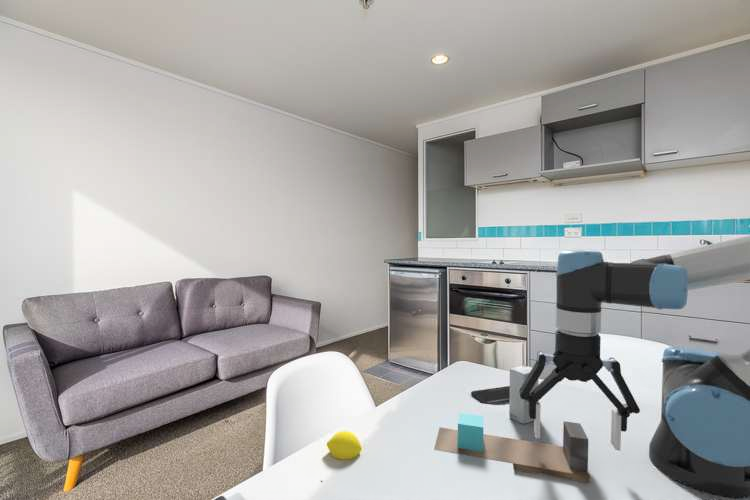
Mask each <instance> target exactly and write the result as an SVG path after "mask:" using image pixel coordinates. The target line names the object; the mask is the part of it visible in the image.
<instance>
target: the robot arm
mask: <svg viewBox="0 0 750 500" xmlns="http://www.w3.org/2000/svg"><path fill="white" fill-rule="evenodd" d="M604 260H605V259H604V256H603V254H602V252H601V251H595V250H563V251H561V252H560V253H559V254H558V258H557V271H556V273H555V276H556V309H555V310H556V313H555V327H556V328H557V330H556V331H555V340H554V341H555V344H554V345H555V351H554V353H553V354H549V353H544V351H541V350H539V351H538V352H537V354H536V361H535V363H534V365H533V366H532V370H531V371H530V373H529V375H528V377H527V378H526V380H525V382H524V383H523V385H522V387H521V388H520V390H519V393H520V397H521V399H525V400H527V401H528V402H529V416H530V419H534V420H533V432H534V436H535V438H536V439H541V408H542V406H541V403H540V400H541V399H542V398H544V396H545V395H546V394H547V393H549V392H550V391H551V390H552V389H553V388H554V387H555V386H556V385H557V384H558V383H560V382H562V381H563V380H564V379H567V380H568V381H579V382H583V383H588V382H589V381H593V382H594V383H595V385H596V386H597V387H598V388H599V390H600V391H601V392H602V393H603V394H604V396H605V397H606V398H607V399H608V400H609V401H610V403H612V404H613V406H614V407H615V408H611V421H610V423H611V424H610V425H611V426H610V443H611V444H612V446H613V448H614V450H615V451H620V452H621V446H622V445H621V444H622V443H621V442H622V441H621V439H622V438H621V437H622V436H621V435H622V432H627V430H628V418H629V417H630V416H631V414H640V412H641V409H640V407H639V406H638V403H637V401H636V399H635V397H634V396H633V394H632V392H631V390H630V388H629V386H628V384H627V383H626V381H625V378H624V377H623V374H622V371H621V369H622V368H621V363H620V361H618V360H617V359H616V358H615V357H609V358H608V359H602V358H601V342H602V341H601V340H602V339H601V336H600V335H599V333H601V330H602V303H605V304H609V305H610V304H615V305H625V306H635V307H643V308H653V309H657V310H664V309H665V310H682V309H684V308H685V307H686V305H687V302H688V294H689V293H688V292H689V291H692V290H698V289H704V288H710V287H716V286H722V285H727V284H732V283H739V282H745V281H750V235H745V236H741V237H737V238H732V239H729V240H724V241H720V242H717V243H716V242H715V243H711V244H707V245H703V246H697V247H693V248H689V249H684V250H680V251H676V252H672V253H669V254H663V255H659V256H655V257H651V258H641V259H637V260H633V261H631V262H611V261H610V262H609V261H604ZM551 362H553V364H554V366H556V367H554V368H553V369H552V371H551V373H550V374H548V375H547V377H545V378H544V379H543V380H542V381H541V382H540V383H538V386H537V387H536V388H535V389H534V390H533V391H532V392H531V393H530V391H531V390H532V388H533V386H534V385H535V383H536V381H537V380H538V381H539V378H540V376H541V375H542V373H543V371H544V370H545V366H546V367H547V366H549V364H550V363H551ZM661 362H662V374H661V375H662V378H661V379H662V380H661V413H660V414H661V415H660V422H659V424H658V426H657V428H656V430H655V432H654V434H653V436H652V438H651V440H650V441H649V447H648V448H649V449H648V456H649V460H650V461H651V463H652V464H653V465H654V466H655V467H656V468H657V469H658V470H659V471H660V472H662V473H663V474H665V475H667V476H668V477H669V478H672V479H674V480H675V481H677V482H679V483H682V484H684V485H686V486H688V487H689V488H693V489H696V490H698V491H701V492H704V493H709V494H712V495H715V496H721V497H725V498H726V497H727V498H737V499H738V498H747V497H750V348H748V349H747V350H745V351H743V352H742V353H741V354H728V353H724V352H723V353H722V352H718V351H714V350H713V351H711V350H707V349H700V348H693V347H684V346H683V347H682V346H681V347H680V346H669V347H666V348H665V349H664V350H663V354H662V358H661ZM603 367H604V368H605V370H607V371H608V372H609V373H610V375H611V376H612V378H613V381H614V382H615V384H616V386H617V388H618V390H619V391H620V394H621V395H622V398H623V399H624V401H625V403H622V402H621V400H619V399H618V398H617V396H616V395H615V394H614V393H613V392H612V391H611V390H610V388H609V387H608V386H607V385H606V384H605V382H604V381H603V380H602V379H601V378H600V377H599V376H598V373H599V371H601V369H603Z"/></svg>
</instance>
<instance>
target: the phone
mask: <svg viewBox="0 0 750 500" xmlns="http://www.w3.org/2000/svg"><path fill="white" fill-rule="evenodd" d="M470 395H472V396H471V397H473V399H475V398H476V401H478V402H479V403H481V404H483V405H491V406H497V405H503V404H509V401H510V385H507V386H498V387H494V388H493V387H492V388H486V389H480V390H472V391H471V392H470Z"/></svg>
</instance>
